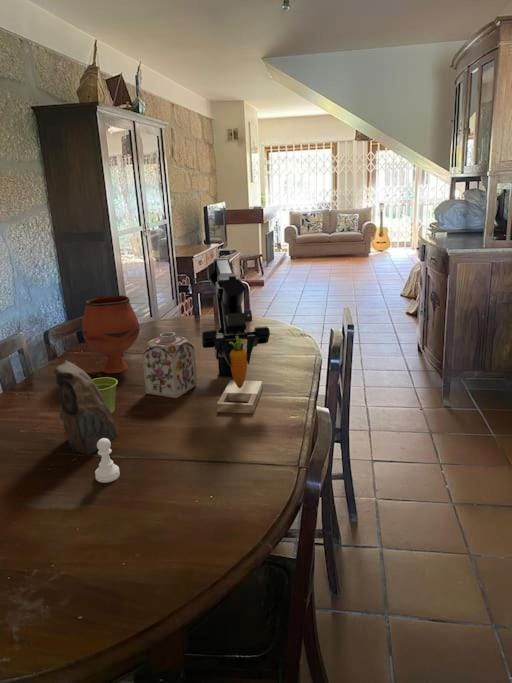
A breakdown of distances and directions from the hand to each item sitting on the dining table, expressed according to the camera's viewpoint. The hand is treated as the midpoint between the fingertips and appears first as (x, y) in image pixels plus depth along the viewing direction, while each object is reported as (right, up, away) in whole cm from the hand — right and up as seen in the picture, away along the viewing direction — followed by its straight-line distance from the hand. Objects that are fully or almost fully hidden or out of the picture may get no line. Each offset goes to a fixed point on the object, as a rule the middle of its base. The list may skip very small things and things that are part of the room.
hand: (239, 364), depth 138 cm
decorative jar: (-22, -9, +19) cm, 30 cm away
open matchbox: (0, -11, +9) cm, 14 cm away
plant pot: (-38, -14, +4) cm, 41 cm away
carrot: (0, -7, +4) cm, 8 cm away
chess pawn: (-27, -23, -29) cm, 46 cm away
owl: (-36, -19, -13) cm, 42 cm away
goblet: (-45, -4, +39) cm, 59 cm away
